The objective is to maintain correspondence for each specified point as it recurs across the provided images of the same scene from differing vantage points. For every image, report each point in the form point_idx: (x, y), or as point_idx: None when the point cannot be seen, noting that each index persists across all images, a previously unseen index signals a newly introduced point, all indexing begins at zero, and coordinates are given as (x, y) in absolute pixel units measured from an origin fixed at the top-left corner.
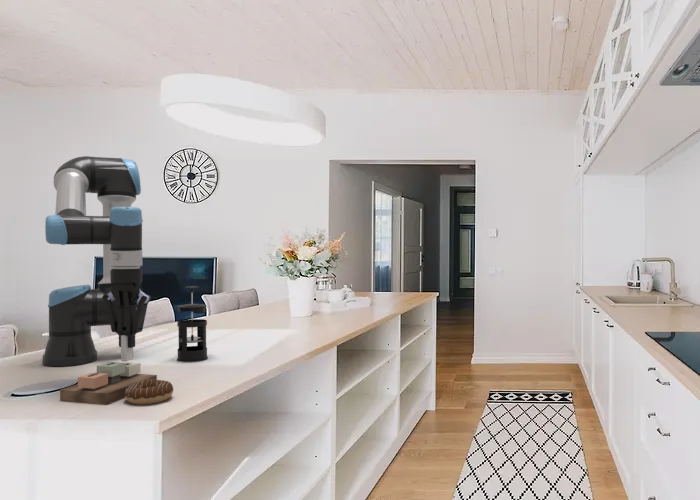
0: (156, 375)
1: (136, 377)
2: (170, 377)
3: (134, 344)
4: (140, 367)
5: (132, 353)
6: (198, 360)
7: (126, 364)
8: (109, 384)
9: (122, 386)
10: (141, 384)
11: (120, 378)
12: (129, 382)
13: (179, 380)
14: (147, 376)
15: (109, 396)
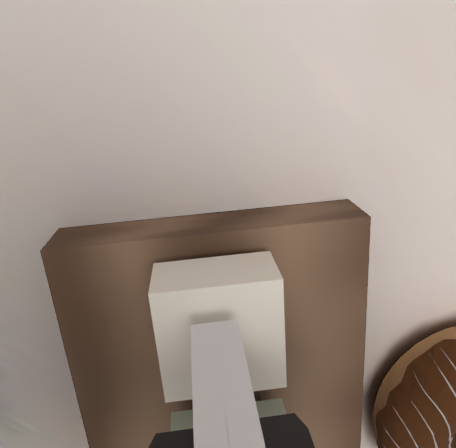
0: (369, 219)
1: (291, 305)
2: (322, 13)
3: (308, 442)
4: (276, 265)
5: (244, 356)
6: None
7: None
8: None
9: (343, 444)
10: (450, 441)
11: None
12: (327, 389)
13: (422, 67)
14: (339, 266)
15: None
